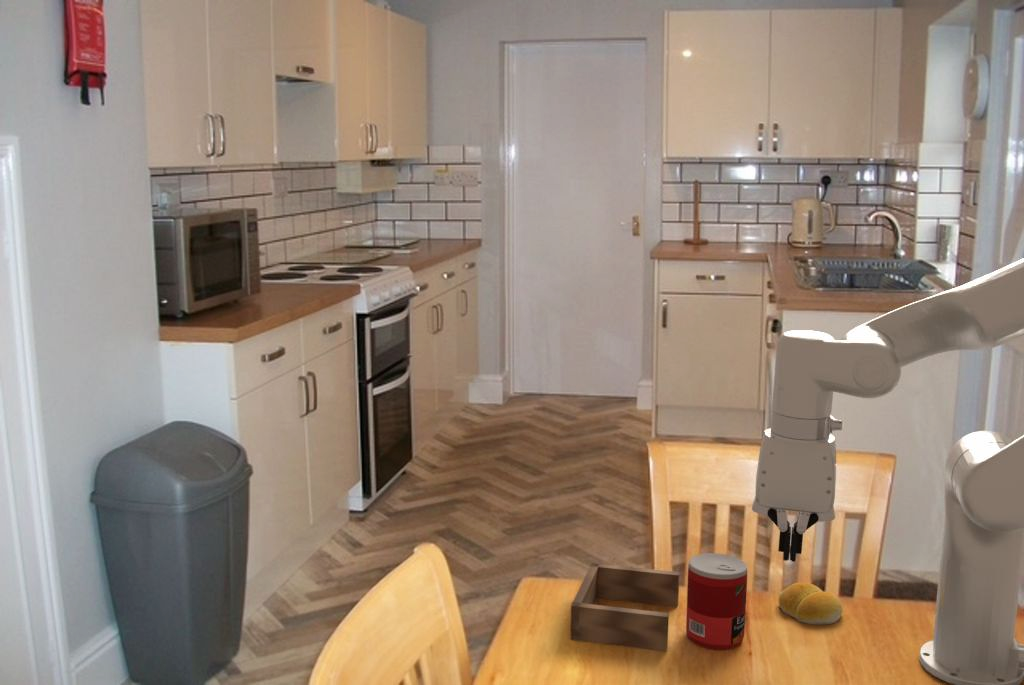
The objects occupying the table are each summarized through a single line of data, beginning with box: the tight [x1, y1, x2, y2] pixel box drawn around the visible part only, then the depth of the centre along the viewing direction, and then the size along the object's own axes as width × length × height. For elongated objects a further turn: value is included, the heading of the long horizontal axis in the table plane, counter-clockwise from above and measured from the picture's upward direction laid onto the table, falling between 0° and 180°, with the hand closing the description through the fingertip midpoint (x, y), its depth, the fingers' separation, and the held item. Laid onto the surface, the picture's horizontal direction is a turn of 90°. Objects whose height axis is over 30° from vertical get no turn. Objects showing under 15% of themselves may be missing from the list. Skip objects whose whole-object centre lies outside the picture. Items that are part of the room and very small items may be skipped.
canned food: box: [685, 552, 748, 651], centre depth 146 cm, size 8×8×11 cm
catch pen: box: [570, 562, 680, 652], centre depth 151 cm, size 13×15×5 cm
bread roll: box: [778, 581, 843, 625], centre depth 154 cm, size 8×9×4 cm
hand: (789, 557), depth 142 cm, fingers closed
